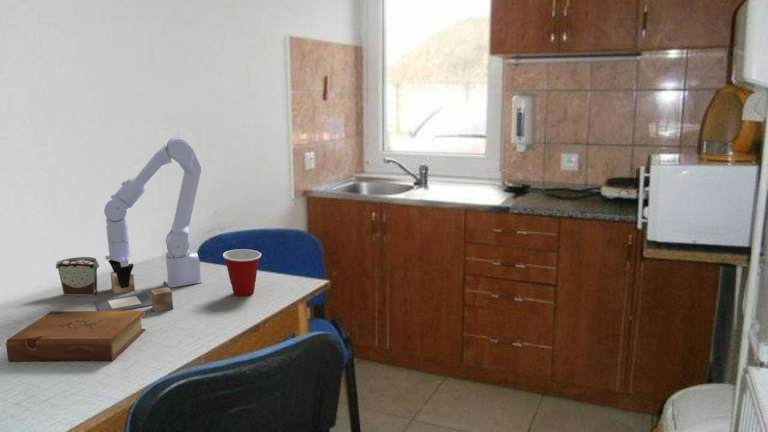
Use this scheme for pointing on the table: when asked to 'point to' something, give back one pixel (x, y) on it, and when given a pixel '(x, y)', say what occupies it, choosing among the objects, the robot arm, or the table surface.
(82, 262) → the food container
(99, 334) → the diary
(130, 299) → the gray rectangular panel
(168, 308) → the walnut block
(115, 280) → the oak block
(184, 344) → the table surface
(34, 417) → the table surface
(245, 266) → the plastic cup
